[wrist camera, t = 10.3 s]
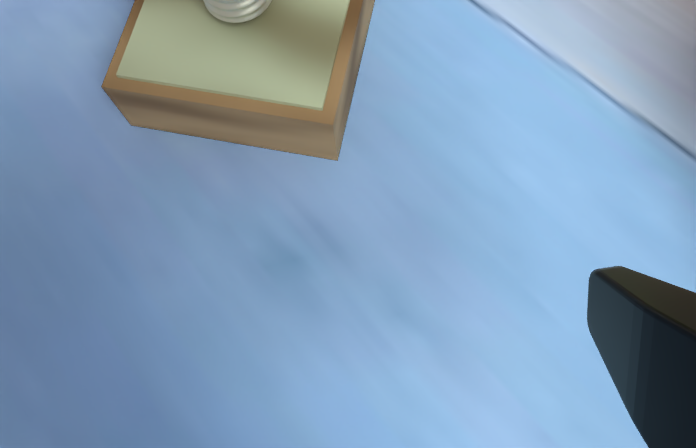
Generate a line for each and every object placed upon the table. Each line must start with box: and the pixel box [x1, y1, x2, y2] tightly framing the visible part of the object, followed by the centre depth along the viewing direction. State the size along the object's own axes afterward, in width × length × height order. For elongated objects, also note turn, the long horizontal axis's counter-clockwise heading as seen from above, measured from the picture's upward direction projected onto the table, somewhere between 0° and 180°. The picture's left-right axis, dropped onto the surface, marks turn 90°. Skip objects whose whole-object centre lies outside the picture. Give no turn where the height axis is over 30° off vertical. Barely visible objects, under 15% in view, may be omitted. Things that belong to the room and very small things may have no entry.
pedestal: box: [101, 0, 375, 161], centre depth 25 cm, size 9×9×3 cm
